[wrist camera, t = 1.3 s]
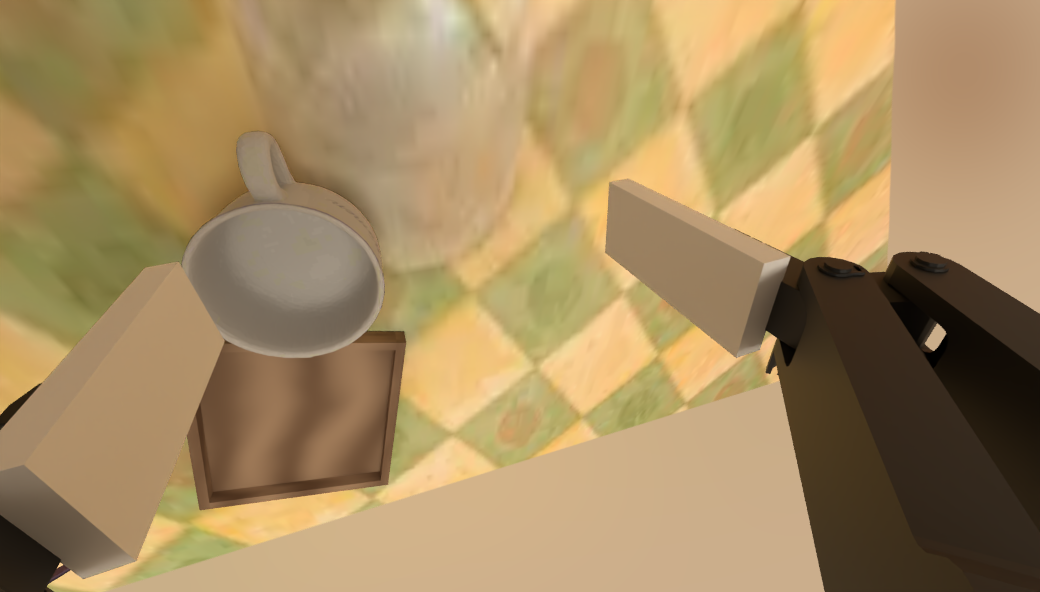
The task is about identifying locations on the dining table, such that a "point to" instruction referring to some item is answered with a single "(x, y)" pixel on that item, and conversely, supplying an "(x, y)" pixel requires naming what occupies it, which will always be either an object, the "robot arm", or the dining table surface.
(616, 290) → the dining table surface
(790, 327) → the robot arm
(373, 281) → the teacup
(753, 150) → the dining table surface
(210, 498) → the tray
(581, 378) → the dining table surface
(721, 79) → the dining table surface
